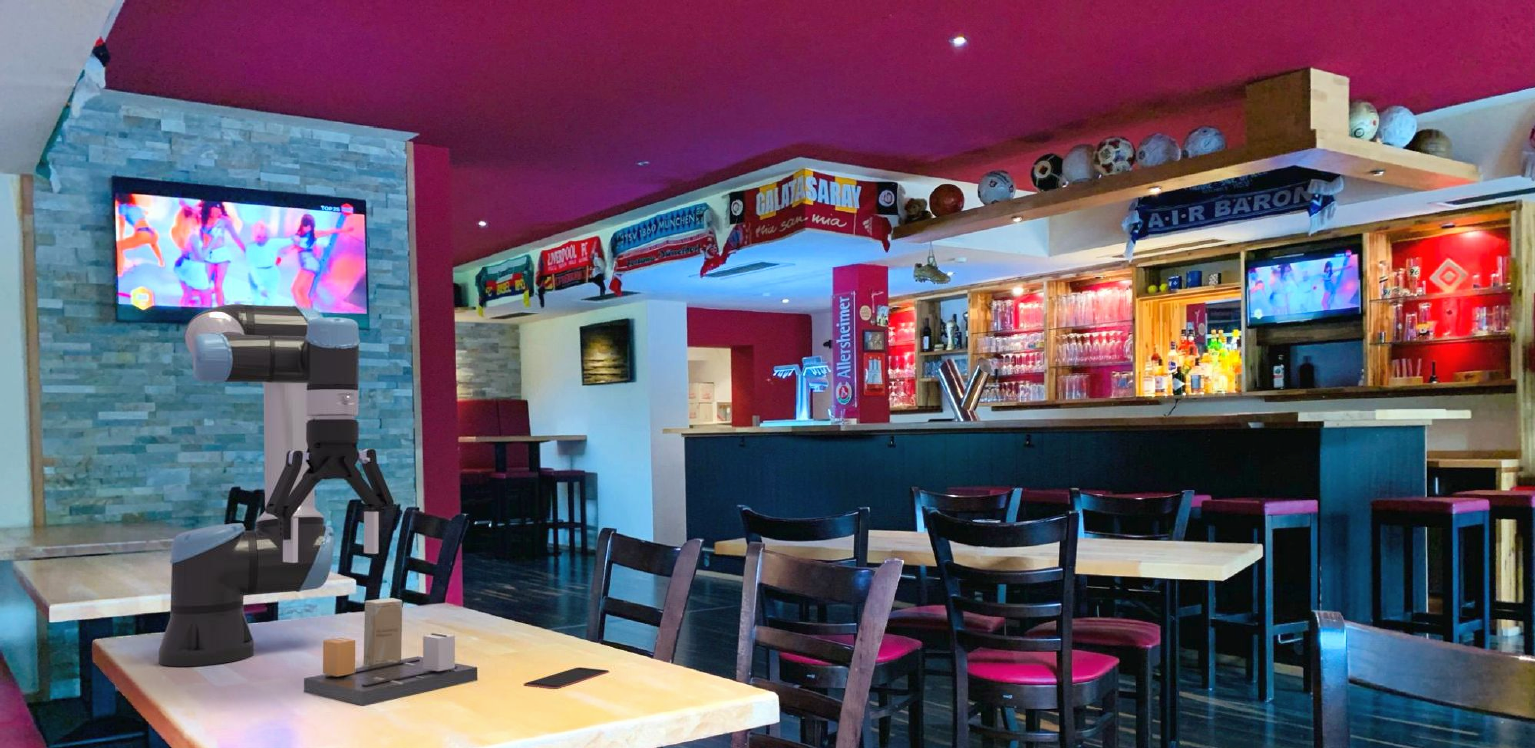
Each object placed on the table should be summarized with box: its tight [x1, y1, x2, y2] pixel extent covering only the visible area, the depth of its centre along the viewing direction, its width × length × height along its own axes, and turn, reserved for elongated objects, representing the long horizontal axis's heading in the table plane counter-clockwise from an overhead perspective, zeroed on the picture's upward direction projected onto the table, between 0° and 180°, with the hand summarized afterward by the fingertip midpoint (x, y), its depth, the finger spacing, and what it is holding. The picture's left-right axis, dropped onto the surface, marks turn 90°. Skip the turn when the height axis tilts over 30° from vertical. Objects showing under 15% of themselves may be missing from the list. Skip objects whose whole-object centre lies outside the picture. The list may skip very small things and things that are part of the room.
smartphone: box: [523, 667, 610, 690], centre depth 174 cm, size 7×1×14 cm
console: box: [303, 656, 478, 707], centre depth 171 cm, size 17×20×2 cm
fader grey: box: [422, 632, 456, 671], centre depth 172 cm, size 4×3×5 cm
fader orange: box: [322, 637, 356, 677], centre depth 170 cm, size 4×3×5 cm
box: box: [363, 597, 403, 666], centre depth 187 cm, size 5×4×11 cm
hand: (332, 557), depth 168 cm, fingers open, 13 cm apart
